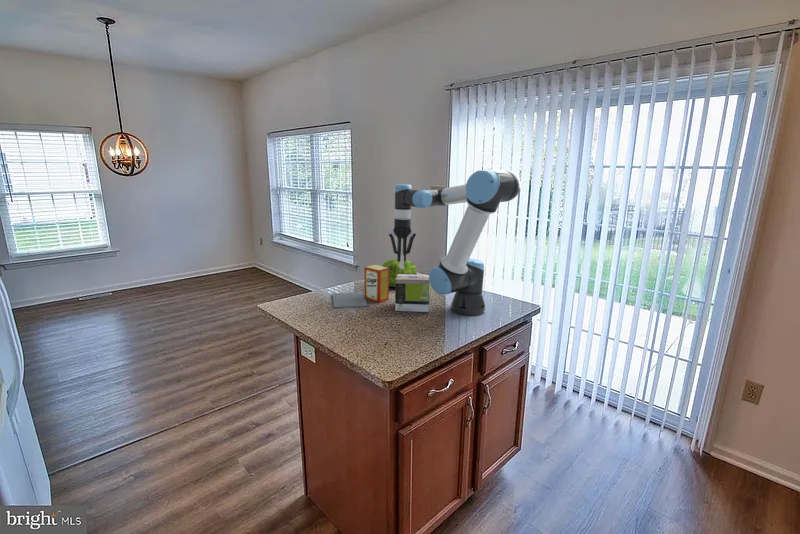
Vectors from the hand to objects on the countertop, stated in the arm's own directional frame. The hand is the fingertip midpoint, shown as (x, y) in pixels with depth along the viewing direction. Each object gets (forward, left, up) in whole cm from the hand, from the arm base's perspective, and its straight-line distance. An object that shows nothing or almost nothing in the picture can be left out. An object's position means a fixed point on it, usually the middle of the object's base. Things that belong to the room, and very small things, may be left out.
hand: (401, 267), depth 187 cm
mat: (0, +25, -15) cm, 29 cm away
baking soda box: (0, +12, -15) cm, 19 cm away
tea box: (-15, -2, -15) cm, 22 cm away
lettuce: (+21, -4, -15) cm, 26 cm away
